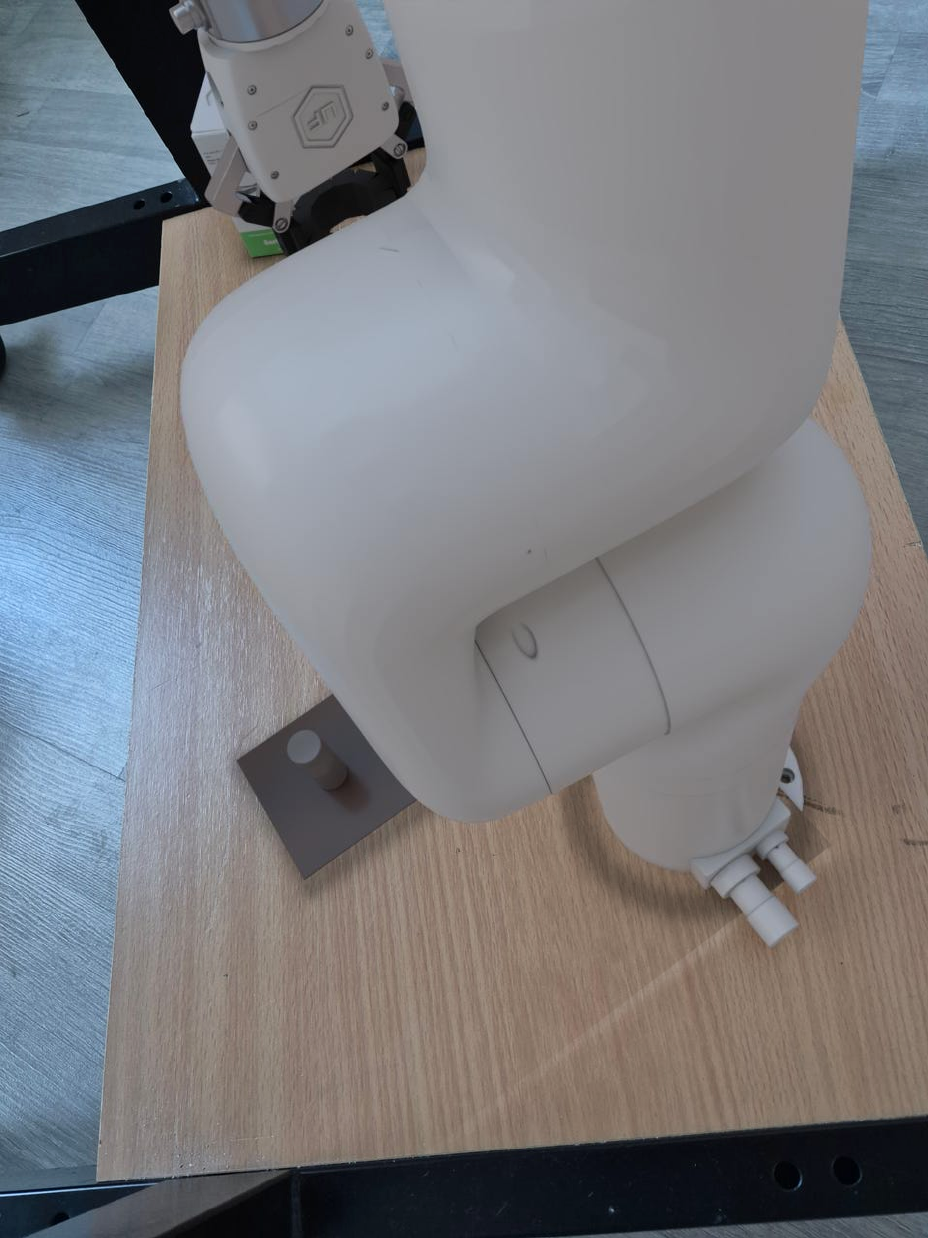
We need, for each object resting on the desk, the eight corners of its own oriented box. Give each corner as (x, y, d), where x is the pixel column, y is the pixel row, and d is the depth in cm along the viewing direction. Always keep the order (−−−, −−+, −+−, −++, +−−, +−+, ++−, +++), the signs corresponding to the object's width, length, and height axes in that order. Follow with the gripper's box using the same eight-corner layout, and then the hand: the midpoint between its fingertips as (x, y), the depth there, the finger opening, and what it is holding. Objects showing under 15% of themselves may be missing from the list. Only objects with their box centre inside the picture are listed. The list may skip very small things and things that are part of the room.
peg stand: (438, 795, 60) (412, 760, 54) (312, 885, 59) (272, 860, 53) (363, 685, 64) (332, 642, 58) (245, 768, 63) (201, 732, 57)
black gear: (424, 239, 71) (414, 205, 68) (337, 295, 70) (323, 263, 68) (372, 187, 74) (360, 153, 72) (288, 240, 74) (273, 207, 71)
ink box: (305, 252, 83) (250, 127, 73) (248, 259, 84) (186, 137, 73) (316, 178, 87) (266, 50, 76) (261, 186, 88) (205, 60, 77)
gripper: (153, 93, 53) (272, 325, 69) (422, -69, 55) (480, 192, 71) (100, 33, 57) (225, 266, 72) (355, -118, 59) (424, 141, 74)
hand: (350, 228), depth 71 cm, fingers closed on black gear, 7 cm apart
